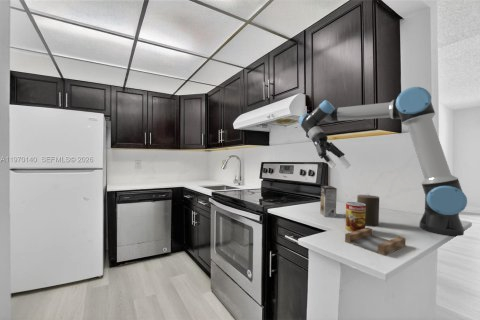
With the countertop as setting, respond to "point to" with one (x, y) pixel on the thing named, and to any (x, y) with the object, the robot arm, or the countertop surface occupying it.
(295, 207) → the countertop surface
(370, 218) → the pillar candle
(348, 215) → the canned food
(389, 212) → the countertop surface
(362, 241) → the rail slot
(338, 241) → the countertop surface
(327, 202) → the coffee box
